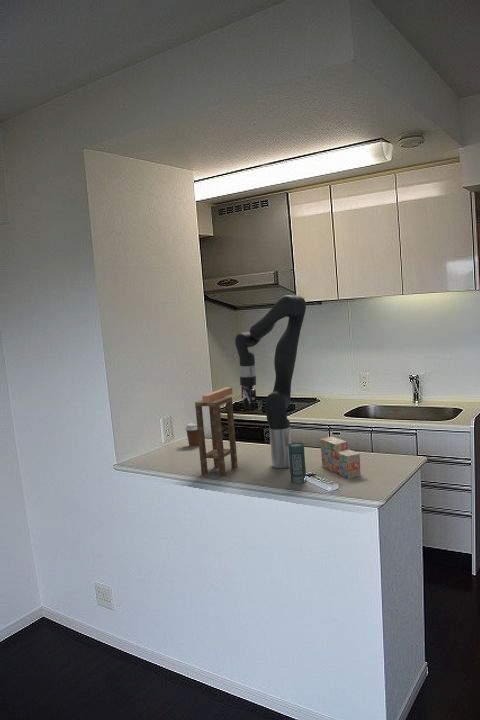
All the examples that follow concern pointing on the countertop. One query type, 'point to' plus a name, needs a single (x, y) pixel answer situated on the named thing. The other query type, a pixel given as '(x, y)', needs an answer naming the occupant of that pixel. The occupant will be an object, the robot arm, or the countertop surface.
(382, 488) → the countertop surface
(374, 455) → the countertop surface
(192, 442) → the coffee cup
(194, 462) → the countertop surface
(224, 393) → the bar
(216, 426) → the stool
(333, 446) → the stack of blocks
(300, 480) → the can
